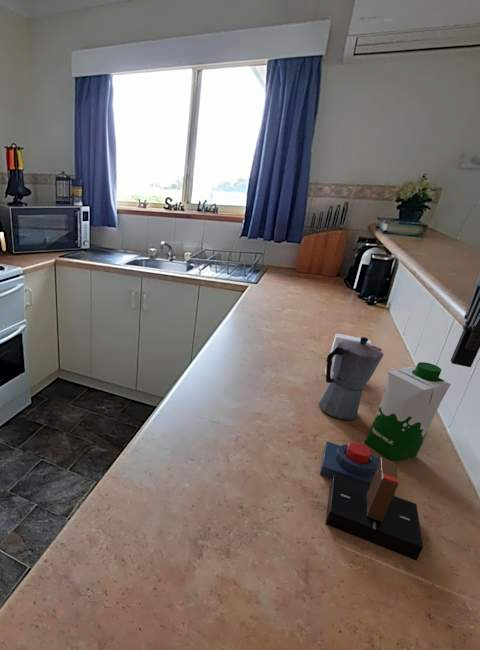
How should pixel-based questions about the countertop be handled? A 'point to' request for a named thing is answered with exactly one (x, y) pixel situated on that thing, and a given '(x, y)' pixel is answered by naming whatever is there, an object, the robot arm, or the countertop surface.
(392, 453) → the milk carton
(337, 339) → the light grey piece
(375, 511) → the handle
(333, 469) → the button block
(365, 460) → the button
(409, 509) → the panel
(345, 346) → the moka pot
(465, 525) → the countertop surface
